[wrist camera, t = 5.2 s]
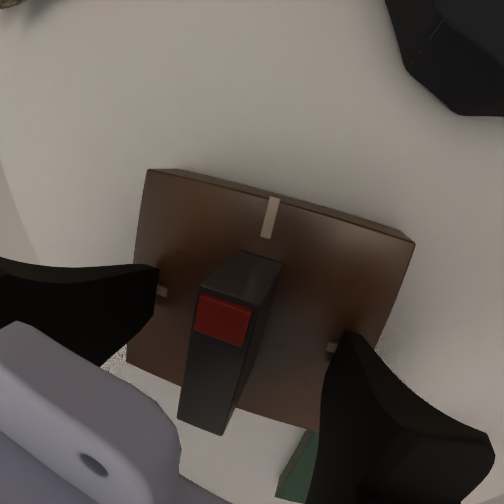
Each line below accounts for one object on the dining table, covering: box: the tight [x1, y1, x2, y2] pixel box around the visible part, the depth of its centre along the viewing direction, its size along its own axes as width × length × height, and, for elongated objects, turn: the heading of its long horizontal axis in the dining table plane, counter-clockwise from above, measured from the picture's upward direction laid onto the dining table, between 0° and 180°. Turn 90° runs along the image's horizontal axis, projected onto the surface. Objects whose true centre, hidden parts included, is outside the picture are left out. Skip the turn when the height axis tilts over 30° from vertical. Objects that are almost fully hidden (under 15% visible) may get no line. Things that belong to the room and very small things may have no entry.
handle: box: [177, 251, 282, 436], centre depth 10 cm, size 5×2×4 cm, turn 166°
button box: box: [275, 429, 319, 504], centre depth 13 cm, size 10×7×4 cm
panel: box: [126, 169, 415, 432], centre depth 13 cm, size 10×9×3 cm
